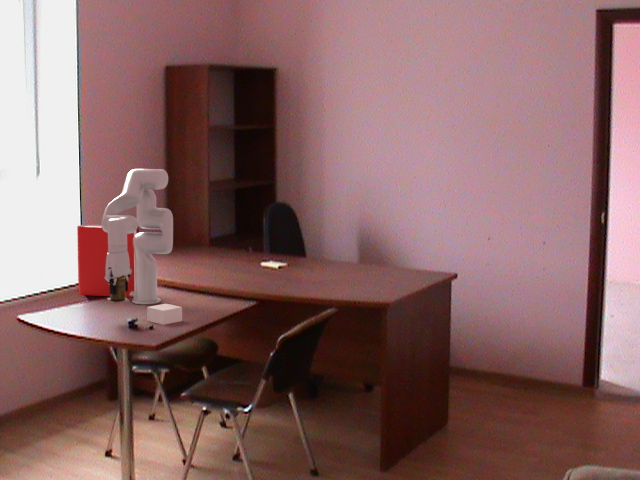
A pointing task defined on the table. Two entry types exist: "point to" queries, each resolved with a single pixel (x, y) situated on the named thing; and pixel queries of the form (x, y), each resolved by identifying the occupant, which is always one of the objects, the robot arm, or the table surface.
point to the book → (99, 261)
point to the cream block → (164, 314)
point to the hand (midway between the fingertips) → (119, 292)
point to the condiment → (119, 291)
